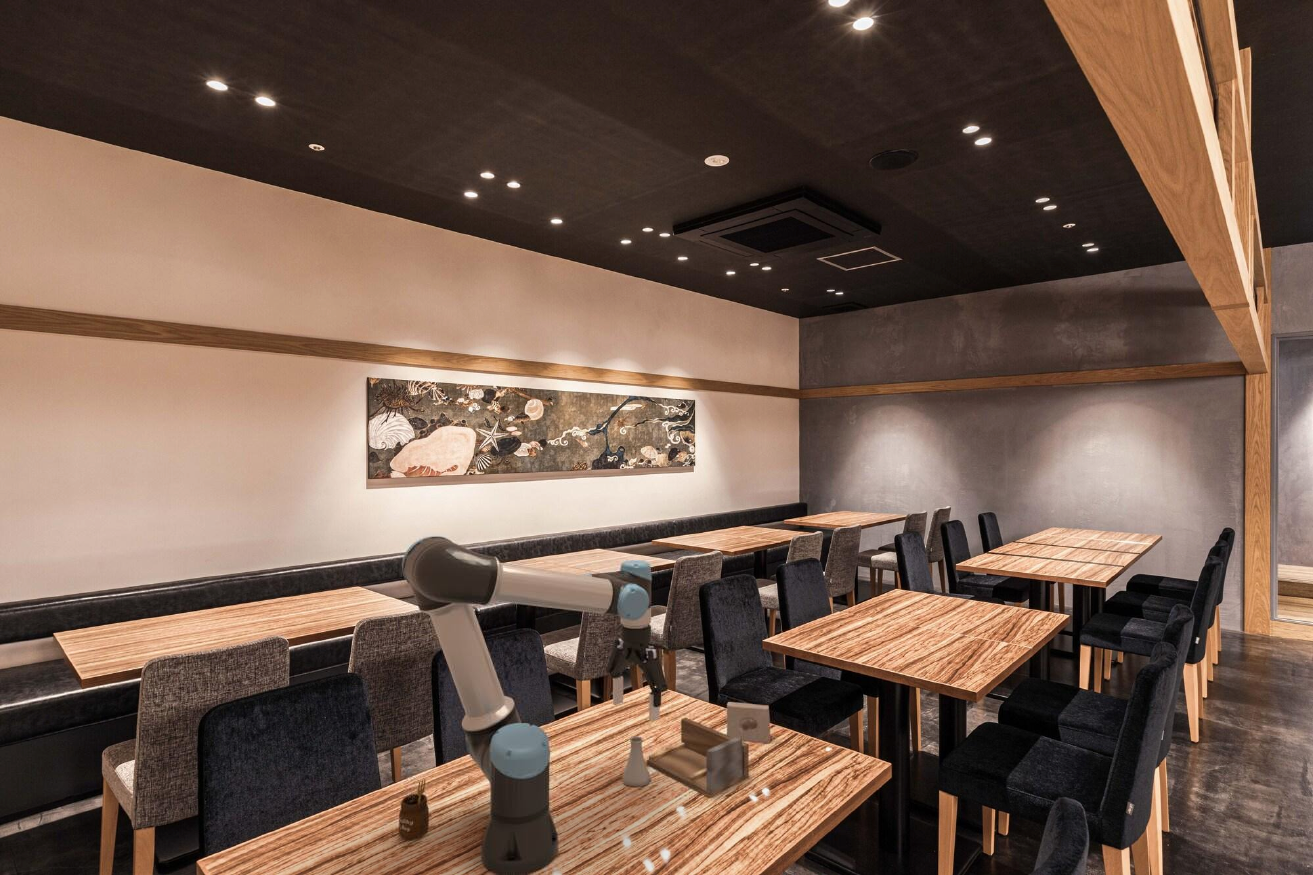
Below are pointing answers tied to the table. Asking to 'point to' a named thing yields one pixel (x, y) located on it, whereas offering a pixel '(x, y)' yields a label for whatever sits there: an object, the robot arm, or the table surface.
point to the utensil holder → (414, 814)
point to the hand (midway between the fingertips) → (635, 711)
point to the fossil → (748, 722)
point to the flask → (636, 765)
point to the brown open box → (704, 759)
